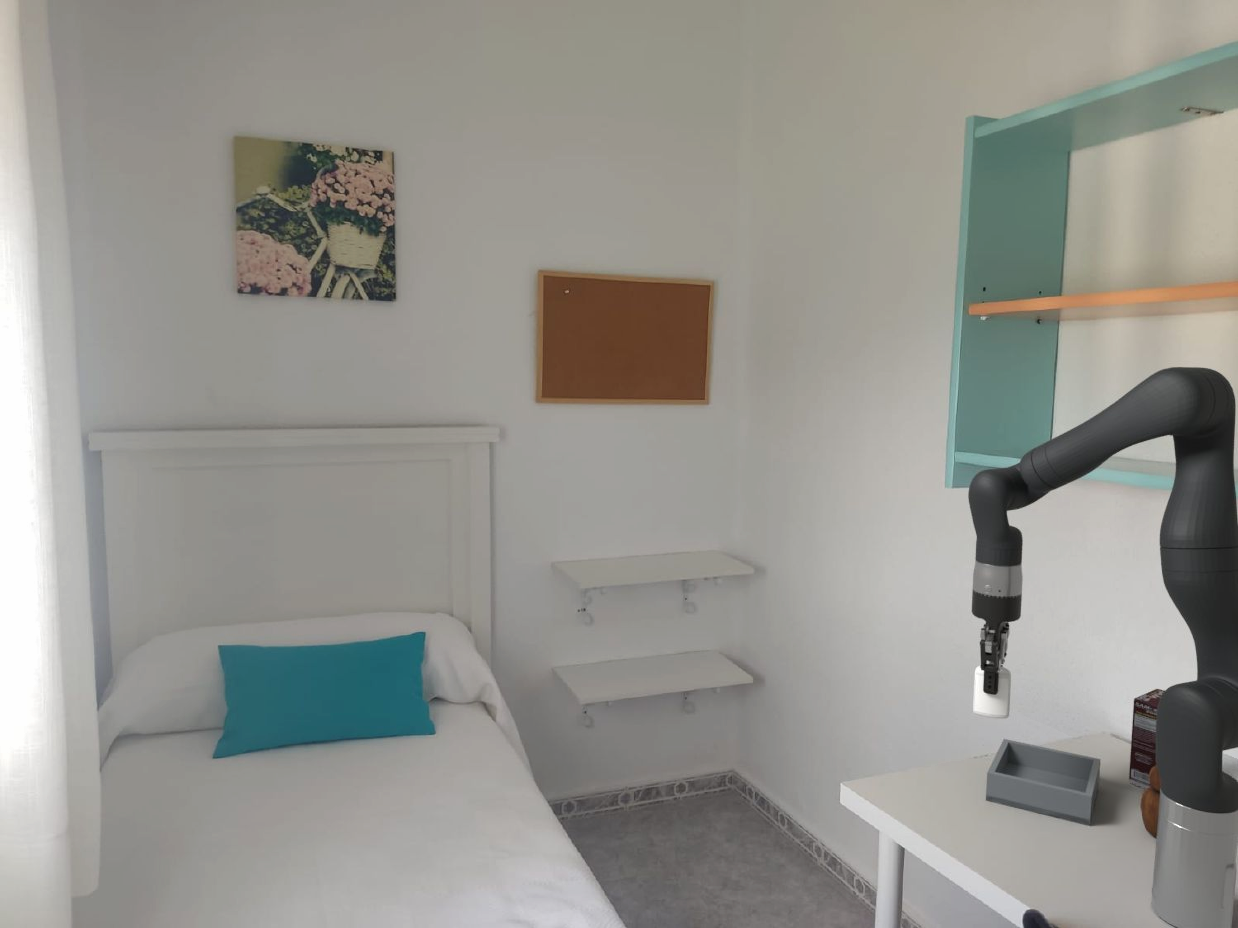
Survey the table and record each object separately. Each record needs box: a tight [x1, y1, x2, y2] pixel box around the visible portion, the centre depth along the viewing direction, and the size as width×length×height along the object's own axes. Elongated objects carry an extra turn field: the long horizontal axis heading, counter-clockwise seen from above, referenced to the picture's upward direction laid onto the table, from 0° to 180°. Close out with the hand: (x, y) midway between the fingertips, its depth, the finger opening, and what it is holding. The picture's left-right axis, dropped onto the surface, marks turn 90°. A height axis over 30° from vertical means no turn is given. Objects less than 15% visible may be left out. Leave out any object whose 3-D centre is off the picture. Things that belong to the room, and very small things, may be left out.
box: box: [985, 738, 1102, 827], centre depth 159 cm, size 16×16×5 cm
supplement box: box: [1128, 688, 1165, 790], centre depth 163 cm, size 9×5×16 cm, turn 124°
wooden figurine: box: [1140, 765, 1161, 839], centre depth 145 cm, size 7×6×15 cm
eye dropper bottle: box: [972, 652, 1012, 719], centre depth 152 cm, size 4×6×12 cm
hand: (992, 688), depth 152 cm, fingers closed on eye dropper bottle, 3 cm apart
